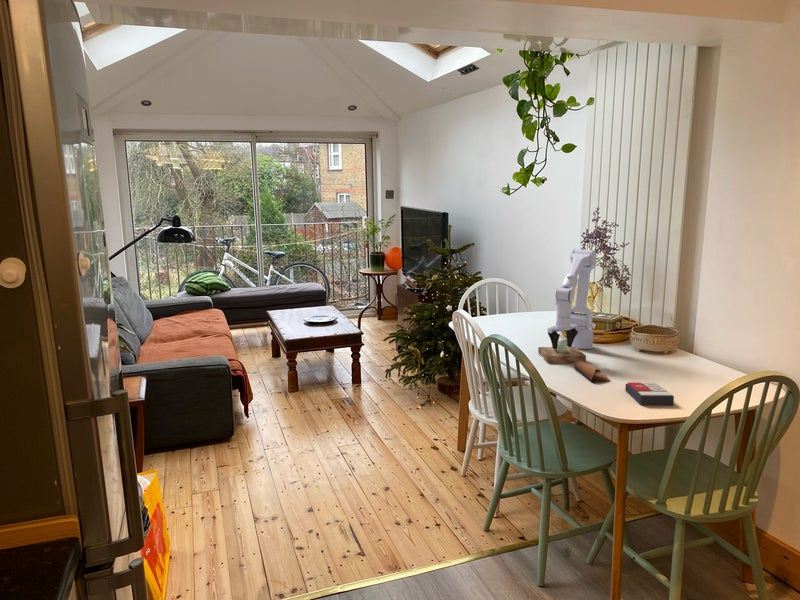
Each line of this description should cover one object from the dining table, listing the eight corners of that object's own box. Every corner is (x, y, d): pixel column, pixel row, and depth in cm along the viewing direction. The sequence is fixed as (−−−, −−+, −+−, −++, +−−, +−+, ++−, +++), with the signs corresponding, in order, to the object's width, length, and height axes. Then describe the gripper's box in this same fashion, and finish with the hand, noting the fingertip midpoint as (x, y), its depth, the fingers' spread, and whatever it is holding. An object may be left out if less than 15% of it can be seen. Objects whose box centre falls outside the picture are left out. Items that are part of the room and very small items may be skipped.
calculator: (656, 381, 216) (674, 394, 201) (655, 393, 216) (673, 406, 202) (625, 381, 216) (641, 393, 201) (624, 393, 217) (640, 406, 202)
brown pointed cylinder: (613, 382, 225) (605, 367, 223) (597, 392, 225) (589, 377, 223) (593, 367, 242) (586, 354, 241) (578, 376, 242) (570, 363, 241)
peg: (561, 356, 258) (562, 338, 257) (568, 358, 255) (569, 340, 253) (554, 357, 257) (555, 339, 255) (560, 360, 253) (561, 341, 252)
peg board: (574, 353, 263) (574, 346, 262) (585, 362, 249) (586, 355, 249) (538, 353, 262) (538, 347, 262) (547, 363, 248) (547, 356, 248)
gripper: (570, 312, 259) (569, 343, 261) (543, 315, 253) (542, 347, 255) (582, 315, 252) (580, 347, 255) (554, 319, 246) (553, 351, 249)
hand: (562, 347), depth 255 cm, fingers open, 7 cm apart
